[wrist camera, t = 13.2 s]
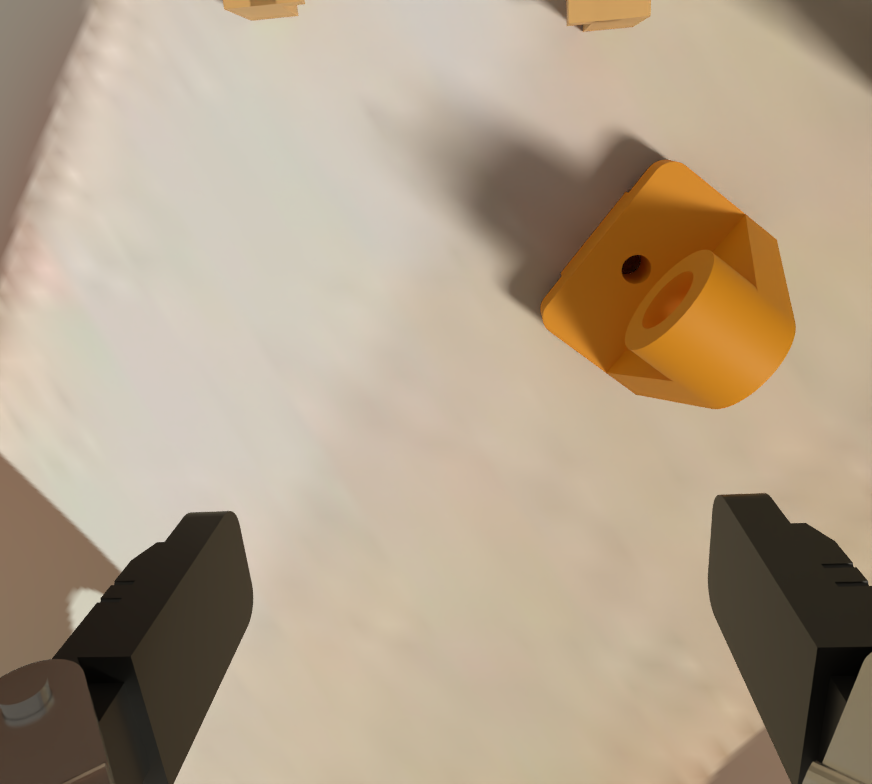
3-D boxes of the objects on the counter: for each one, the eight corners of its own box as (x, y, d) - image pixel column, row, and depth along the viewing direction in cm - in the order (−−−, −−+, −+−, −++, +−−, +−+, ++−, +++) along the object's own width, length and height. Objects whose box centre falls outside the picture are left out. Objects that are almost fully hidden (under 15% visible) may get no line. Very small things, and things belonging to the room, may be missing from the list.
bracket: (658, 150, 37) (730, 164, 26) (758, 231, 39) (868, 277, 27) (532, 308, 41) (549, 379, 30) (627, 378, 42) (677, 471, 31)
